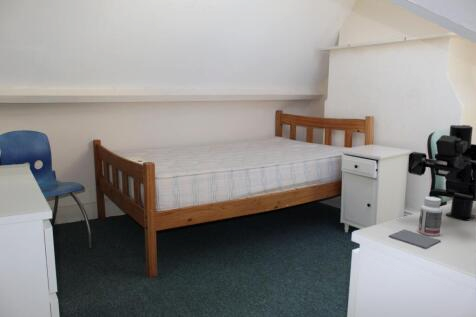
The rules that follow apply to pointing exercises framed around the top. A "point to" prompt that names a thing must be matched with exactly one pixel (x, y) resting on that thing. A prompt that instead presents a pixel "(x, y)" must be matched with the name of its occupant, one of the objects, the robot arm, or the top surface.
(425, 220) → the pill bottle
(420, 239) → the slate mat
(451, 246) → the top surface
